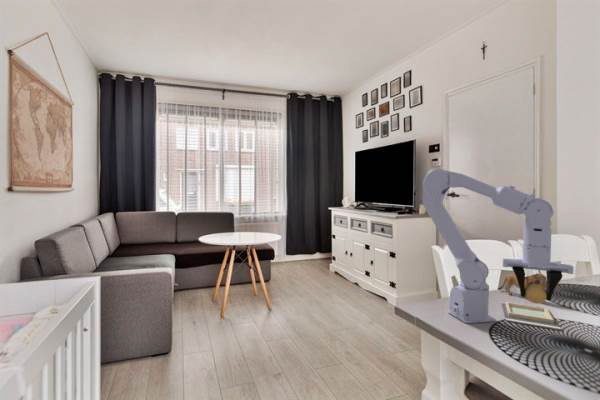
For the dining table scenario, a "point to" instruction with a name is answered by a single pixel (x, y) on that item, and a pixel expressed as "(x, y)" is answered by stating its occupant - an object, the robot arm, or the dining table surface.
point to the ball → (535, 293)
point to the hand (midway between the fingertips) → (535, 297)
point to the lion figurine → (534, 279)
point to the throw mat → (529, 316)
